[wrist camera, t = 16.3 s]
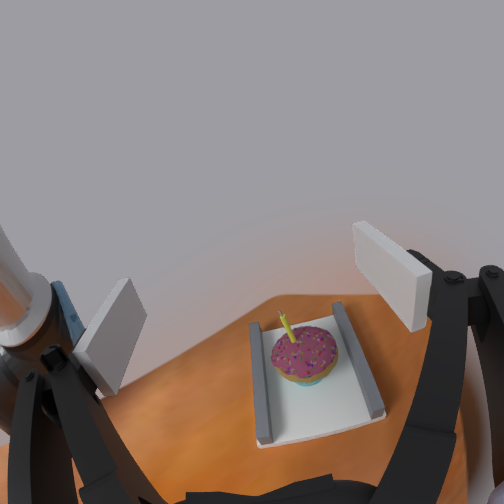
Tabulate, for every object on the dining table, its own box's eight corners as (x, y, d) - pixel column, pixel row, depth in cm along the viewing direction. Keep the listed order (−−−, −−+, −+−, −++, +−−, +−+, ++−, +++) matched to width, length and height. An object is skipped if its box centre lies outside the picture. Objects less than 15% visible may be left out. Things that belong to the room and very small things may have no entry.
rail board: (385, 418, 28) (389, 405, 26) (259, 448, 29) (252, 438, 27) (344, 316, 45) (343, 300, 43) (252, 339, 46) (246, 324, 45)
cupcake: (272, 395, 35) (249, 338, 29) (285, 348, 41) (268, 287, 36) (336, 398, 31) (332, 340, 26) (341, 348, 38) (337, 285, 33)
